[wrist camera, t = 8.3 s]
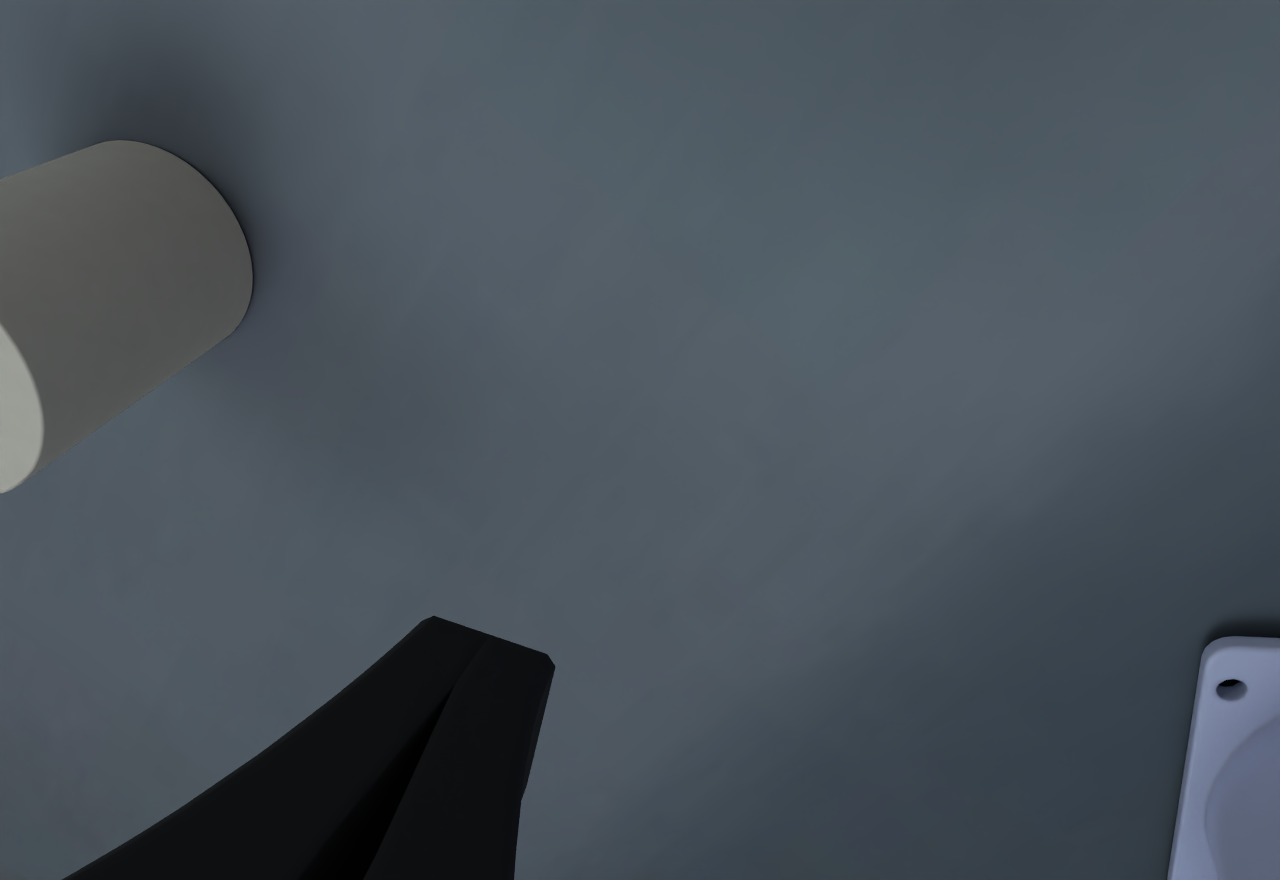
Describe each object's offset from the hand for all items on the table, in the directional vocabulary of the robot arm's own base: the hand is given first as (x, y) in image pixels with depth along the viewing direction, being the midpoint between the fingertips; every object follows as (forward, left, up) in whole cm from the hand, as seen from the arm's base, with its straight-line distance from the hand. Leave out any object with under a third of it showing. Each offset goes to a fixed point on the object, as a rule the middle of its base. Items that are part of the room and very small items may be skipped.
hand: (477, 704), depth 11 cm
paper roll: (+3, +9, -7) cm, 12 cm away
